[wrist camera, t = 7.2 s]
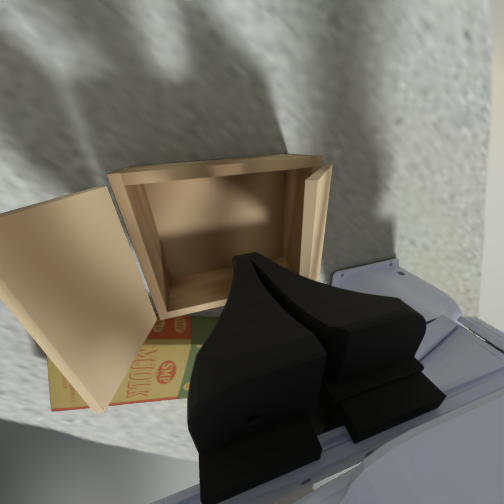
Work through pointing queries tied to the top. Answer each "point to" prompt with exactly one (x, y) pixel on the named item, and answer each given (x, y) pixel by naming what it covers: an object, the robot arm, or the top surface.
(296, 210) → the cardboard box
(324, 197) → the flap
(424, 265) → the top surface
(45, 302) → the flap
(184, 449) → the top surface
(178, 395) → the carton
